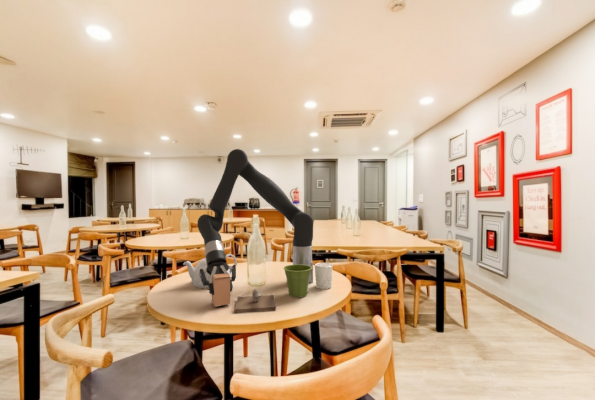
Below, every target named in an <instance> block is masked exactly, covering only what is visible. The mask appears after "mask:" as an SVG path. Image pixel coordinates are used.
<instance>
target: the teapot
mask: <svg viewBox="0 0 595 400" xmlns="http://www.w3.org/2000/svg"><path fill="white" fill-rule="evenodd" d="M225 256H226V259H227V258H228V257H231V258H233V260H234V264H233V265H236V266H237V265H238V261H237V257H235V255H234V254H231V253H228V254H225ZM182 265H183V266H187V271H188V275H189V277H190V279H191V283H192V285H193V286H194V287H195V288H198V289H209V287H208V286H207V285H206V286H204V285H203V283H202V281H201V278H200V275H199V272H200V269H203V270H204V269H207V263H206V257H204V258H202V259H200V261H199V260H198V262H197V263H196V265H195V266H193V264H192V262H191V261H189V260H185V261H184V262H183V263H182ZM227 272H228V273H229V276H230V277H231V275H232V272H231V271H230V270H229V269H228V271H227ZM205 276H206V279H207V281H209V280H210V277H211V275H209V274H208V273H207V272H206V275H205Z"/></svg>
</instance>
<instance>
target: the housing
mask: <svg viewBox="0 0 595 400" xmlns="http://www.w3.org/2000/svg"><path fill="white" fill-rule="evenodd" d="M230 277H231V275H230V276H229V275H228V274H224V273H223V274H216V275H214V276H212V280H213V282H212V283H213V287H214V295H212V294H211V303H212V305H213V307H220V306H226V305H231V292H230Z"/></svg>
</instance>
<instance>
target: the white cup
mask: <svg viewBox="0 0 595 400" xmlns="http://www.w3.org/2000/svg"><path fill="white" fill-rule="evenodd" d="M314 269H315V270H314V274H315V287H316V288H317V289H319V288H320V289H319V290H329V289H328V288H330V289H331V288H332V281H333V264H332V263H330V262H317V263H315V264H314Z"/></svg>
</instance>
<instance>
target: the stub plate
mask: <svg viewBox="0 0 595 400" xmlns="http://www.w3.org/2000/svg"><path fill="white" fill-rule="evenodd" d="M276 307H277V305H276V300H275V295H274V294H268V295H267V294H266V295H260V291H259V289H257V288H254V289H253V290H252V295H250V296H248V295H246V296H237V299H236V303H235V308H234V314H238V313H239V314H240V313H254V312H270V311H276V310H277V308H276Z"/></svg>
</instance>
